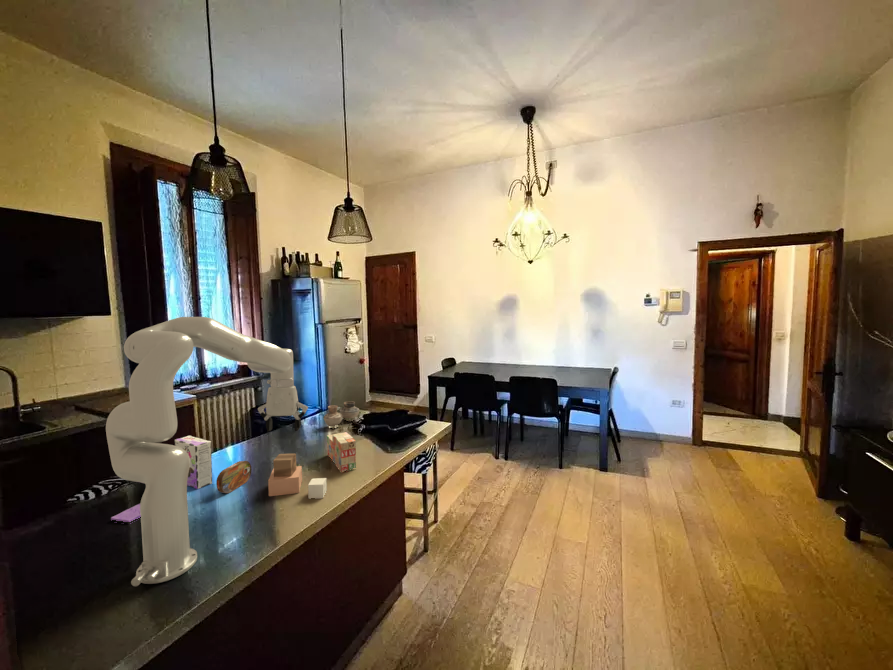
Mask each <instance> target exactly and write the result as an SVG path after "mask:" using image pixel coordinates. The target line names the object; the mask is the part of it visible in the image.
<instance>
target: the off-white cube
mask: <svg viewBox="0 0 893 670" xmlns="http://www.w3.org/2000/svg"><path fill="white" fill-rule="evenodd" d="M327 487H328V486H327V477H317V478H311V480H310V481H309V483H308V484H307V488H308V489H307V490H308V491H307V494H308V496H307V497H308V500H309V499H310V500H311V498H315V499H324V498H323V497H325V496H324V495H326V494H325V493H327V492H326V491H327Z"/></svg>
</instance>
